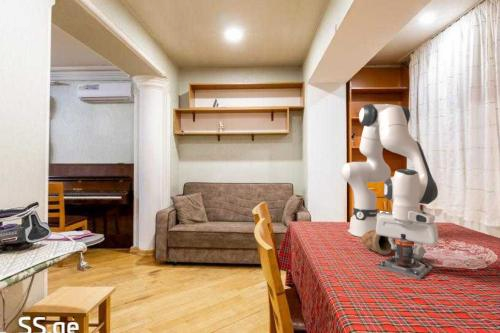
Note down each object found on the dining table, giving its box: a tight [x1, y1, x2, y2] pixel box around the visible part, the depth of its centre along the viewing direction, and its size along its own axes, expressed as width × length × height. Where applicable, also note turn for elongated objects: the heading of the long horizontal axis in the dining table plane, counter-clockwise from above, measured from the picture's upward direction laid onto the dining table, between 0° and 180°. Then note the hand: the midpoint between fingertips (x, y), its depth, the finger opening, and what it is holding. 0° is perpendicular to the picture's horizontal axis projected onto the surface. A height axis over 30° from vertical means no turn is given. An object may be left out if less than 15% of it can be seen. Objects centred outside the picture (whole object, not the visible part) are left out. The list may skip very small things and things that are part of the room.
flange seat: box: [376, 245, 433, 280], centre depth 109 cm, size 24×14×5 cm, turn 134°
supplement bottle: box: [394, 234, 415, 266], centre depth 106 cm, size 6×6×11 cm
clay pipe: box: [360, 230, 396, 256], centre depth 128 cm, size 19×11×15 cm
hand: (404, 251), depth 106 cm, fingers closed on supplement bottle, 6 cm apart
